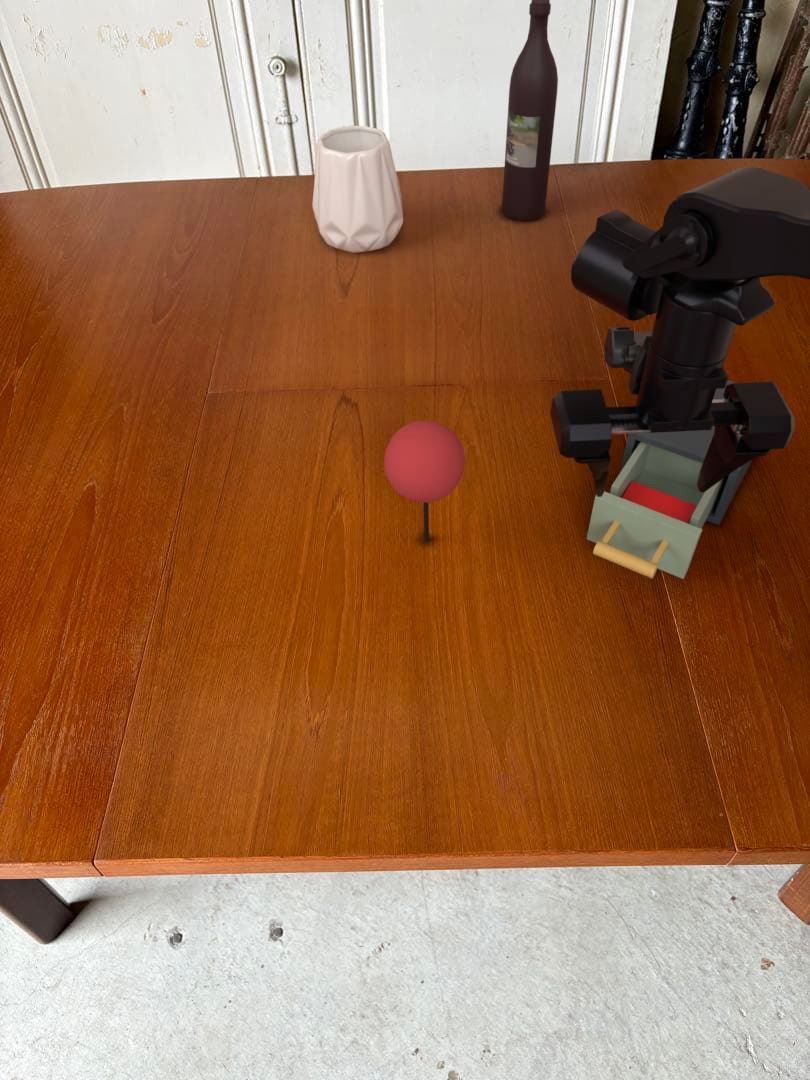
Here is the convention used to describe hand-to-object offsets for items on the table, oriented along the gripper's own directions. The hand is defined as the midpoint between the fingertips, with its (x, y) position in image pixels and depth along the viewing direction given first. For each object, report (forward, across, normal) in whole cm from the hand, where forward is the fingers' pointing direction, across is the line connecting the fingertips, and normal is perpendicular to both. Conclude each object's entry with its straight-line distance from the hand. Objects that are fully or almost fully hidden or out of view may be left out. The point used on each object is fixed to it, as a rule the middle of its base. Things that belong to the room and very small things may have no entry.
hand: (649, 491), depth 73 cm
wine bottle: (+12, +1, -78) cm, 79 cm away
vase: (+12, +28, -72) cm, 78 cm away
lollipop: (+12, +20, -6) cm, 24 cm away
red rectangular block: (+10, -4, -6) cm, 12 cm away
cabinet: (+12, -10, -15) cm, 22 cm away
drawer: (+11, -3, -5) cm, 13 cm away
